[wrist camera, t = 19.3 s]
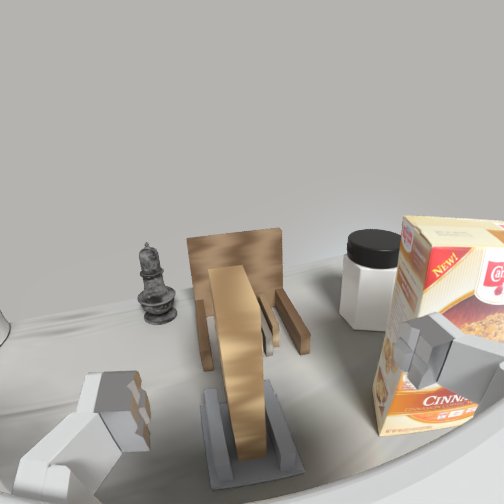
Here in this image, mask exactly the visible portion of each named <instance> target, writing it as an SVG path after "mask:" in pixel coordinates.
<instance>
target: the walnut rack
mask: <svg viewBox="0 0 504 504" xmlns="http://www.w3.org/2000/svg"><path fill="white" fill-rule="evenodd" d="M187 246H188V254H189V262H190V269H191V276H192V282H193V289H194V296H195V304H196V316H197V327H198V337H199V347H200V355H201V360H202V365H203V370H204V371H211V370H214V368H213V362H212V355H211V349H210V342H209V335H208V328H207V321H206V317H207V316H214V313H213V305H212V298H211V290H210V282H209V274H208V269H214V268H222V267H230V266H238V265H243V268H244V270H245V273H246V275H247V277H248V280H249V282H250V284H251V287H252V289H253V292H254V294H255V296H256V299H257V301H258V303H259V294H264V295H265V297H266V299H267V301H268V303H269V305H270V307H276V309H277V311H278V313H279V315H280V317H281V319H282V321H283V323H284V324H285V326H286V328H287V330H288V332H289V334H290V336H291V338H292V340H293V342H294V344H295V346H296V348H297V350H298V352H299V354H300V355H304V354H309V353H310V337H311V334H310V332H309V331H308V329H307V327H306V326H305V324H304V322H303V321H302V319H301V317H300V316H299V314H298V312H297V311H296V309H295V308H294V306H293V304H292V303H291V301H290V299H289V298H288V296H287V294H286V293H285V291H284V289H283V266H282V230H281V229H280V228H271V229H262V230H253V231H244V232H235V233H226V234H219V235H209V236H201V237H194V238H187Z"/></svg>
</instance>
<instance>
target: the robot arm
mask: <svg viewBox="0 0 504 504" xmlns="http://www.w3.org/2000/svg"><path fill="white" fill-rule="evenodd" d="M9 329H10V326H9V323H8V322H7V320H6V319H5V318H4V316H3V315H2V312H1V310H0V345H1V344H2V343H3V341H4V340H5V339H6V337H7V335H8V333H9ZM397 334H398V336H399V339H398V340H397V341H396V343H395V345H394V350H393V355H394V360H395V363H396V365H397V366H398V367H399V369H400V370H402V371H405V372H407V378H408V379H409V381H410V382H411V383H412V384H413V385H414V387H415V388H416V389H417V390H420V389H422V388H425V387H427V386H430V385H432V384H435V383H437V384H438V385H440V386H442V387H444V388H446V389H448V390H450V391H452V392H454V393H456V394H458V395H460V396H462V397H464V398H466V399H468V400H470V401H472V402H474V403H476V404H478V407H477V409H476V410H475V412H474V415H473V418H471V419H470V420H468V421H467V422H465V423H463V424H462V425H460V426H458V427H456V428H455V429H453V430H451V431H449V432H448V433H446V434H444V435H442V436H440V437H438V438H437V439H435V440H433V441H431V442H429V443H427V444H425V445H423V446H421V447H419V448H417V449H415V450H413V451H411V452H409V453H406V454H404V455H402V456H400V457H398V458H395V459H393V460H391V461H388V462H386V463H384V464H381V465H379V466H376V467H374V468H371V469H369V470H366V471H363V472H361V473H358V474H355V475H352V476H349V477H346V478H344V479H341V480H337V481H334V482H331V483H328V484H325V485H321V486H318V487H315V488H311V489H307V490H304V491H300V492H296V493H292V494H288V495H284V496H279V497H275V498H270V499H265V500H260V501H255V502H249V503H243V504H504V344H503V343H499V342H496V341H492V340H489V339H486V338H482V337H479V336H475V335H472V334H465V333H463V332H462V331H461V330H460V329H459V328H457V327H456V326H455V325H454V324H453V323H451V322H450V321H449V320H448V319H447V318H445V317H444V316H443V315H442V314H441V313H439V312H433V313H430V314H427V315H424V316H422V317H418V318H415V319H412V320H409V321H405V322H402V323H401V324H400V326H399V328H398V332H397ZM141 381H142V380H141V378H140V375H139V373H138V372H137V371H115V372H89V373H88V374H87V375H86V376H85V380H84V383H83V387H82V390H81V394H80V397H79V401H78V405H77V409H76V413H70V414H69V415H68V416H67V417H66V418H65V419H64V420H62V421H61V422H60V423H59V424H58V425H57V426H56V427H55V428H54V429H53V430H51V431H50V432H49V433H48V434H47V435H46V436H45V437H44V438H43V439H42V440H41V441H39V442H38V443H37V444H36V445H35V446H34V447H33V448H32V449H31V450H30V451H28V452H27V453H26V454H25V455H24V456H23V457H22V458H21V459H20V463H19V466H18V470H17V474H16V478H15V482H14V486H13V490H12V494H7V493H4V492H0V504H102V503H101V502H100V501H99V500H98V499H97V498H96V497H95V496H94V494H95V492H96V491H97V489H98V488H99V487H100V485H101V484H102V482H103V481H104V479H105V478H106V476H107V475H108V474H109V472H110V471H111V469H112V468H113V466H114V465H115V464H116V462H117V461H118V459H119V458H120V456H121V455H122V453H121V452H139V451H150V431H149V429H148V427H147V425H148V423H149V422H150V418H151V413H150V405H149V400H148V397H147V394H146V391H144V390H143V389H142V388H141Z"/></svg>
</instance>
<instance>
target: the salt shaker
mask: <svg viewBox="0 0 504 504" xmlns="http://www.w3.org/2000/svg"><path fill="white" fill-rule="evenodd" d="M148 245H149V244H148V243H147V242H146V243H145V246H146V247H145V248H144V249H142V250H141V251H140V253H139V259H140V264H141V269H142V271H141V272H140V276H141V277H143V281H144V291H142V292H141V293H140V294H139V295H138V302H139V303H140V304H141V306H142V307H143V308H144V310H145V311H147V312H146V313H145V315H144V319H145V321H146V322H147V323H149V324H153V325H161V324H165V323H168V322H170V321H172V320H173V319H174V318H175V317H176V316H177V311H176V309H175V308H173V307H172V305H173V303H174V296H175V290H174V289H172V288H170V287H167V286H165V284H164V281H163V276H162V273H163V272H164V270H163V269H162V268H161V267H160V262H159V256H158V252H157V250H156V249H155V248H151V247H149V246H148Z"/></svg>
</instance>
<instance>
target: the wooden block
mask: <svg viewBox="0 0 504 504" xmlns="http://www.w3.org/2000/svg"><path fill="white" fill-rule="evenodd" d="M208 274H209V282H210V290H211V298H212V305H213V313H214V320H215V328H216V335H217V342H218V349H219V355H220V362H221V369H222V375H223V382H224V388H225V394H226V400H227V406H228V412H229V417H230V422H231V427H232V432H233V437H234V441H235V446H236V451H237V455H238V460H239V461H244V460H250V459H255V458H261V457H266V456H267V448H266V424H265V401H264V379H263V357H262V335H261V314H260V306H259V303H258V301H257V299H256V296H255V294H254V292H253V289H252V287H251V284H250V282H249V280H248V277H247V275H246V273H245V270H244V268H243V265H238V266H230V267H222V268H214V269H208Z"/></svg>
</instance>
